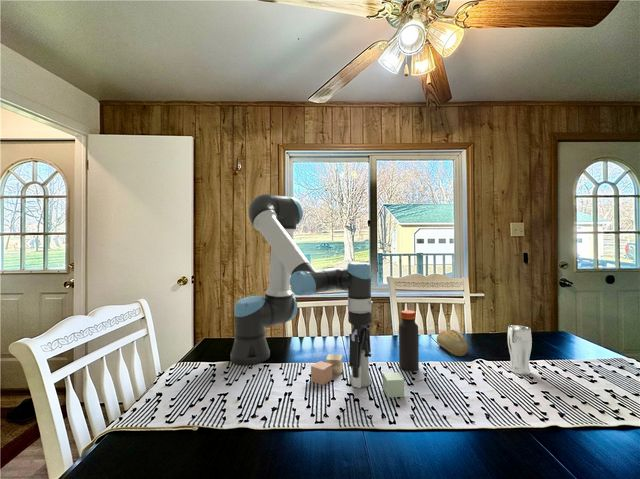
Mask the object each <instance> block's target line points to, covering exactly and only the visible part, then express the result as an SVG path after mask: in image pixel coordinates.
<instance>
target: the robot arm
mask: <svg viewBox="0 0 640 479" xmlns="http://www.w3.org/2000/svg"><path fill="white" fill-rule="evenodd" d="M247 212H248V217H249V220H250V223H251V225H252V226H253V228H254V229H255V230H256V231H259V232H260V233H261V234H262V235H263V236H262V237H264V239H265V241H266V242H267V243H268V244H269V246H270V260H269V261H270V263H269V281H268V288H267V289H266V290H265V292H264V296H263V295H251V296H245V297H242V298H241V299H238V300H237V301H236V302H235V304H234V312H233V314H234V341H233V344H232V348H231V352H230V362H232V364H236V365H239V366H240V365H241V366H251V365H256V364H260V363H264V362H265V361H267V360H268V359H269V358H270V356H271V350H270V348H269V345H268V342H267V338H266V328H269V327H273V326H277V325H279V324H280V325H281V324H285V323H288V322H289V321H292V320H293V319H294V318H295V317H296V315H297V312H298V301H296V300H297V299H296V297H295V296H294V295H296V296H299V297H300V296H301V297H302V296H311V295H313V294H319V293H325V292H329V291H330V292H331V291H334V290H340V291H347V310H348V313H347V316H348V317H347V320H348V323H349V324H350V325H352V326H353V328H352V329H351V330H352V332H351V333H349V334H348V339H349V356H348V366H349V367H351V368H352V369H351V374H352V385H351V386H352V387H354V388H358V389H361V388H362V387H361V366H360V359H361V350H364V351H365V354H364V358H365V364H366V367H367V370H368V373H369V374H370V367H369V366H370V363H369V362H370V361H369V359H370V358H371V357H372V353H371V351H372V350H371V349H372V348H371V331H370V330H371V325H370V324H372V322H373V318H372V316H373V314H372V311H371V310H372V305H373V304H374V302H373V301H372V271H371V270H372V269H371V265H370V263H368V262H358V261H356V262H350V263H347V266H346V267H338V266H337V267H336V266H325V267H323V268H318V269H315V267H314V266H313V265H312V264H311V263H310V261H309V260H308V259H307V257H306V255H304V253H303V252H302V251H301V249H300V247H299V246H298V245H297V244H296V243H295V241H294V240H293V234H294V232H295V231H296V230H297V225H299V224H300V223H301V221H302V220H303V217H304V210H303V206H302V204H301V203H300V200H298V199H297V198H295V197H292V196H287V195H286V196H285V195H275V194H269V193H268V194H267V193H265V194H264V193H263V194H260V195H258V196H256V197H254V198H253V199H252V201H251V202H250V204H249V207H248V211H247ZM293 294H294V295H293ZM369 357H370V358H369Z"/></svg>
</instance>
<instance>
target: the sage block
mask: <svg viewBox="0 0 640 479" xmlns="http://www.w3.org/2000/svg"><path fill="white" fill-rule="evenodd" d="M382 390H383V392H384V394H385V395H386V397H387V398H400V397H405V379H404V378H403V376H402V375H401V374H400V372H397V371H395V372H382Z"/></svg>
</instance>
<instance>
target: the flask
mask: <svg viewBox="0 0 640 479" xmlns="http://www.w3.org/2000/svg"><path fill="white" fill-rule="evenodd" d="M364 354H365V351H364V350H361V359H360V366H361V388H362V387H369V386H370V385H371V384H372V383H373V381H372V379H371V378H372V377H371V376H370V372H369V373H368V370H367V367H366V364H365V358H364ZM349 382H350V384H351V386H352V373H351V375H350V378H349Z"/></svg>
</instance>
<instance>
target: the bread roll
mask: <svg viewBox="0 0 640 479" xmlns="http://www.w3.org/2000/svg"><path fill="white" fill-rule="evenodd" d="M436 343H437V344H438V345H439V346H440V347H442V348H443V349H444V350H446V351H448V352H449V353H450V354H452V355H453V356H456V357H464V356H465V355H466V354H467V352H468V349H469V348H468V346H469V345H468V342H467V340H466V338H465V336H464V335H463V334H462V333H461V332H460V331H457V330H454V329H451V330H450V329H449V330H443V331H441V332H439V333H438V334H437V336H436Z"/></svg>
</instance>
